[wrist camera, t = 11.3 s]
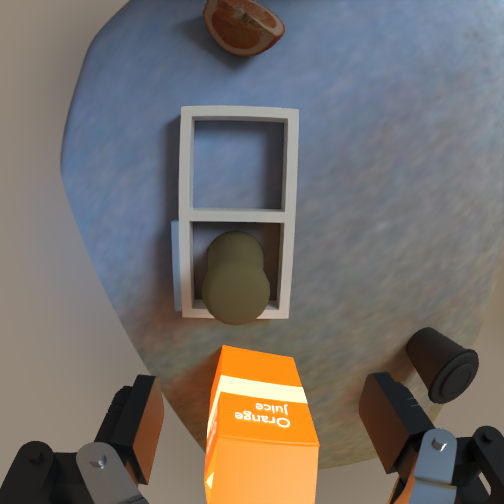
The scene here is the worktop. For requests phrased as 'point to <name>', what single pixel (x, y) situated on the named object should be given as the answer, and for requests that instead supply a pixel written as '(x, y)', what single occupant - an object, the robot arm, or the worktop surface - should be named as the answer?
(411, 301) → the worktop surface
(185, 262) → the white flat rectangular frame
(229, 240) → the olive rounded piece
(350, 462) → the worktop surface
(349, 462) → the worktop surface
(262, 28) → the fruit slice
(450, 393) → the coffee cup
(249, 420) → the orange juice
